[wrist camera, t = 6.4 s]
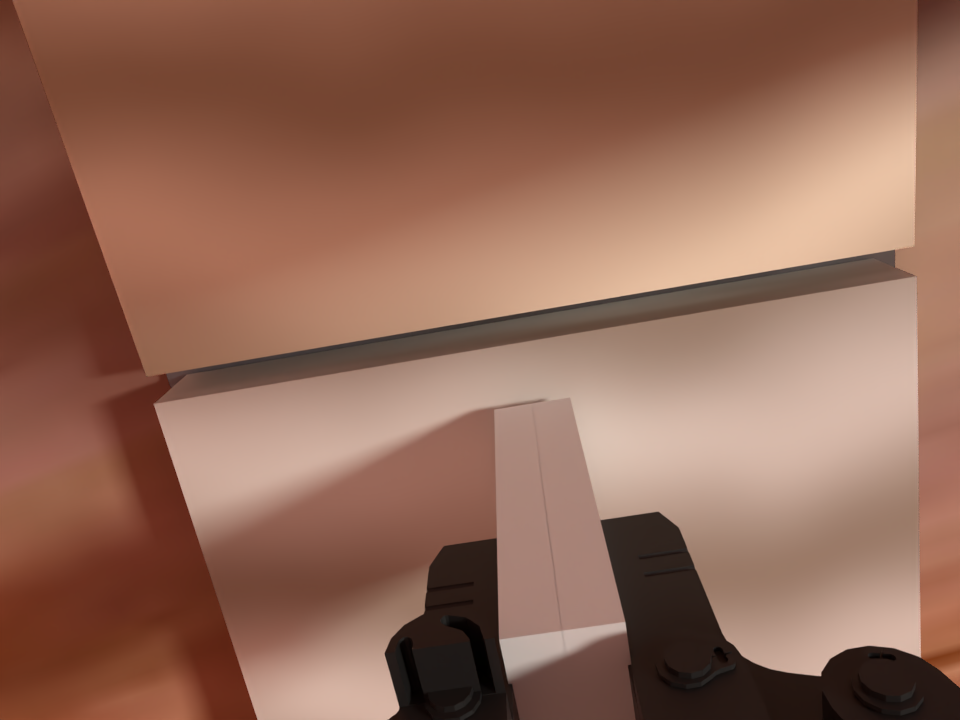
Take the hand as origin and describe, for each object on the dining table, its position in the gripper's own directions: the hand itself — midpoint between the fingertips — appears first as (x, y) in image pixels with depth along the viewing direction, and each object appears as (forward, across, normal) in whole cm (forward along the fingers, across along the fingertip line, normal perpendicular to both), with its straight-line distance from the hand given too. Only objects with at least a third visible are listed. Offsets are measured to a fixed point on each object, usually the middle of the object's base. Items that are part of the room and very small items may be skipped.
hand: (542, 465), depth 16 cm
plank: (+2, 0, -3) cm, 3 cm away
